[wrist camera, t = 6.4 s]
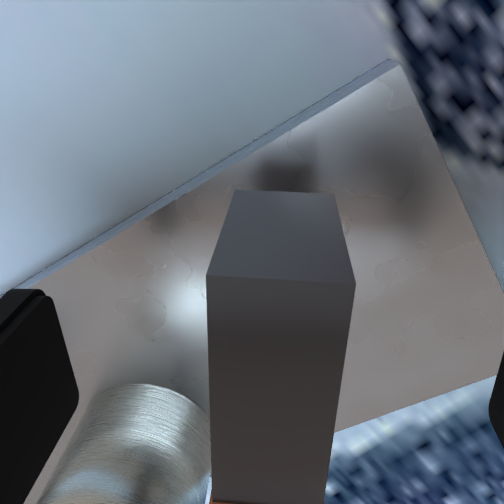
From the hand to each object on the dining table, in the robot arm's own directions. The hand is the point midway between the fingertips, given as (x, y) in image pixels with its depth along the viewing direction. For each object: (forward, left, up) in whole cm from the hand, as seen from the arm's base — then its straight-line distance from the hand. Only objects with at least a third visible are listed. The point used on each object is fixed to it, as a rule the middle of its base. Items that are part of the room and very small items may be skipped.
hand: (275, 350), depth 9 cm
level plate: (+8, +2, -6) cm, 10 cm away
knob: (0, 0, -4) cm, 4 cm away
